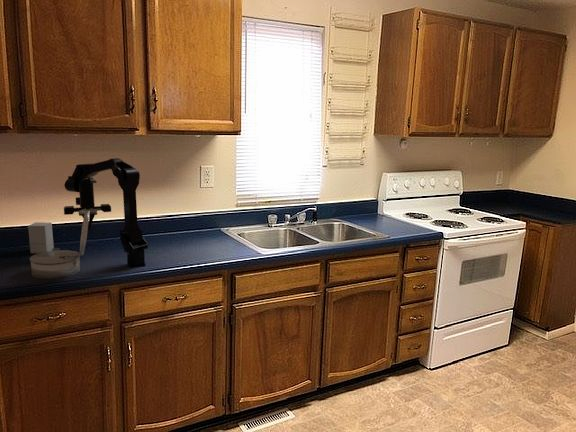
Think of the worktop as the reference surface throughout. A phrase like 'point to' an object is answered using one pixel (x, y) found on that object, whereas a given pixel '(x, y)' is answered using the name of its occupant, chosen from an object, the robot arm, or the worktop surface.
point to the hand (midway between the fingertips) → (89, 228)
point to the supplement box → (40, 237)
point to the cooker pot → (55, 264)
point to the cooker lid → (84, 232)
